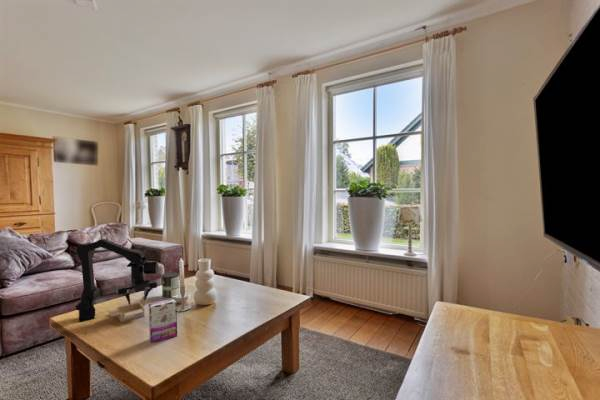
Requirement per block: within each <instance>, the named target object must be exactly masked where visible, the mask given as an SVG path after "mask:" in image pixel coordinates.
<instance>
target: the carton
mask: <svg viewBox="0 0 600 400" xmlns="http://www.w3.org/2000/svg"><path fill="white" fill-rule="evenodd" d="M107 312H108V315H109V316H110V317H113V316H116V317H117V319H118V320H119V322H120V323H124V322H128V321H132V320H135V319H136V320H137V319H140V318H144V317H145V306H143V305H142V304H141V303H140V302H136V303H133V304H130V305H129V304H128V305H124V306H119V307H116V308H114V309H108V310H107Z"/></svg>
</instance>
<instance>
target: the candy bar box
mask: <svg viewBox="0 0 600 400" xmlns="http://www.w3.org/2000/svg"><path fill="white" fill-rule="evenodd" d="M177 304H178V303H177V300H176V299H175V298H174V299H164V300H161V301H157V302H153V303H152V302H151V303H148V322H149V323H148V324H149V325H148V326H149V328H148V330H149V333H148V334H149V341H150V343H151V344H155V343H158V342H161V341H165V340H168V339H169V340H170V339H171V338H175V337H178V311H177Z"/></svg>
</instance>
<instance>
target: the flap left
mask: <svg viewBox="0 0 600 400" xmlns="http://www.w3.org/2000/svg"><path fill="white" fill-rule="evenodd" d="M117 303H118V306H119V307H121V306H126V305H129V304H128V301H127V300H124V301H119V302H117ZM135 303H137V301H136V299H135V298H133V299H132V298H131V299H130V304H135Z"/></svg>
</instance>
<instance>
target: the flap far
mask: <svg viewBox="0 0 600 400" xmlns="http://www.w3.org/2000/svg"><path fill="white" fill-rule="evenodd" d="M147 301H148V300H147V298H146V299H145V301H144V295H143V296H141V299H140V300H139V303H140V304H141V305H142V306H143V307H145V306H146V304H147Z"/></svg>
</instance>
